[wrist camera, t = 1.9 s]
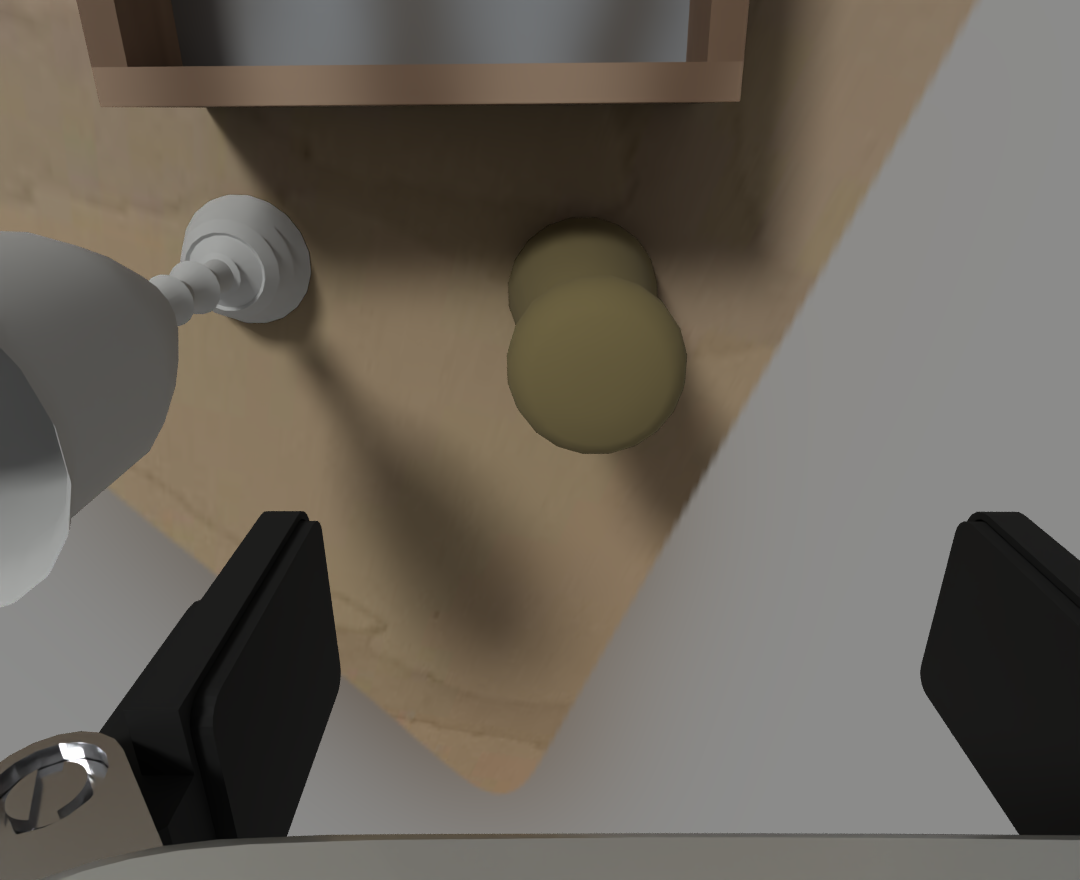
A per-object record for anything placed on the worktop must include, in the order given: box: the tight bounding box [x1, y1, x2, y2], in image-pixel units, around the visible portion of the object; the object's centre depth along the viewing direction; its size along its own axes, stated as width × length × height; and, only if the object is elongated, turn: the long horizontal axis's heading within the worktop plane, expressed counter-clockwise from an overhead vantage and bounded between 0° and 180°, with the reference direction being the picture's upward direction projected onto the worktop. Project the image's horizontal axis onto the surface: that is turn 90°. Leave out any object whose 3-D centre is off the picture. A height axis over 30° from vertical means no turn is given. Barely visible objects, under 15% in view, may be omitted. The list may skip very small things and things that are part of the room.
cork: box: [507, 218, 687, 454], centre depth 25 cm, size 6×6×11 cm
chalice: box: [0, 195, 311, 607], centre depth 21 cm, size 7×7×18 cm
